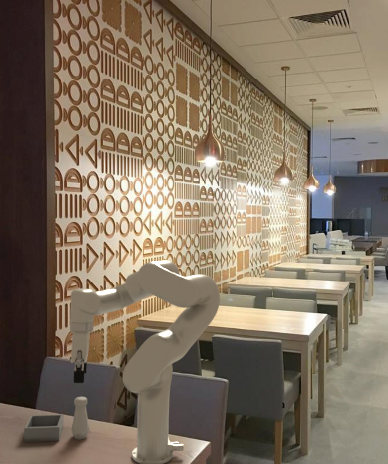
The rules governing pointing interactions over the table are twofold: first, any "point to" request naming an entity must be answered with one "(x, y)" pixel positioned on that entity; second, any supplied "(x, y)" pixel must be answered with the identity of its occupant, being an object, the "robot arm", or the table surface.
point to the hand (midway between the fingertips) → (80, 377)
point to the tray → (43, 428)
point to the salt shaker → (80, 419)
